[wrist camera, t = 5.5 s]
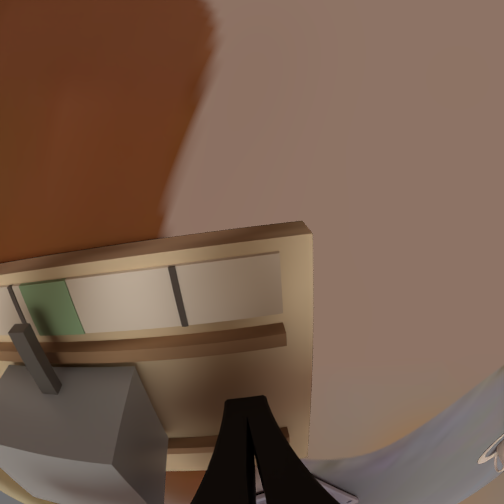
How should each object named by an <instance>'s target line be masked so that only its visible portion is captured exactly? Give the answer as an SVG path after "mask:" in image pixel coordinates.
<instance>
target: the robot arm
mask: <svg viewBox="0 0 504 504" xmlns="http://www.w3.org/2000/svg"><path fill="white" fill-rule="evenodd" d="M254 455H255V457H254ZM255 459H256V463H257V467H258V471H259V475H260V478H261V482H262V486H263V490H264V493H263V494H260V495H257V496H256V483H255ZM358 501H359V500H358V498H357V497H355V496H352V495H350V494H348V493H346V492H343V491H341V490H339V489H337V488H335V487H333V486H331V485H329V484H326V483H324V482H322V481H320V480H318V479H316V478H314V476H313V475H312V474H311V473H310V472H309V470H308V469H307V468H306V467H305V465H304V464H303V463H302V461H301V460H300V459H299V457H298V456H297V455H296V453H295V452H294V450H293V449H292V447H291V446H290V444H289V443H288V441H287V440H286V438H285V436H284V435H283V433H282V431H281V430H280V428H279V426H278V424H277V422H276V420H275V418H274V416H273V414H272V412H271V409H270V407H269V404H268V401H267V397H266V396H264V395H259V396H252V397H244V398H235V399H227V400H226V401H225V402H224V411H223V417H222V422H221V427H220V431H219V435H218V438H217V441H216V445H215V448H214V451H213V454H212V457H211V460H210V462H209V465H208V467H207V470H206V473H205V475H204V477H203V480H202V482H201V484H200V486H199V488H198V490H197V492H196V494H195V496H194V498H193V500H192V502H191V504H356V503H357V502H358Z"/></svg>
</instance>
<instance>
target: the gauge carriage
mask: <svg viewBox="0 0 504 504" xmlns="http://www.w3.org/2000/svg"><path fill="white" fill-rule="evenodd" d="M8 334H9V336H10V338H11V340H12V342H13V344H14V346H15V348H16V349H17V351H18V353H19V355H20V357H21V359H22V360H23V362H24V364H25V366H20V365H8V367H7V369H6V370H5V372H4V373H3V375H2V377H1V378H0V467H1V468H2V469H3V470H4V471H5V472H6V473H7V474H8V475H9V476H10V477H11V478H12V479H13V480H15V481H16V482H17V483H18V484H19V485H20V486H21V487H23V488H24V489H25V490H26V491H27V492H29V493H30V494H31V495H32V496H33V497H37V498H40V499H44V500H47V501H51V502H55V503H59V504H164V492H165V476H166V462H167V449H168V436H167V434H166V432H165V430H164V428H163V426H162V424H161V422H160V420H159V418H158V416H157V414H156V412H155V410H154V408H153V406H152V404H151V402H150V400H149V397H148V395H147V393H146V391H145V389H144V386H143V384H142V382H141V380H140V377H139V375H138V373H137V370H136V368H135V366H123V367H52V366H51V364H50V362H49V360H48V359H47V357H46V355H45V353H44V351H43V349H42V347H41V345H40V343H39V341H38V339H37V337H36V335H35V333H34V331H33V329H32V327H31V324H30V323H22V324H14V325H13V327H12V328H11V329H10V331H9V332H8Z"/></svg>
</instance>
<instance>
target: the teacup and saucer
mask: <svg viewBox="0 0 504 504" xmlns="http://www.w3.org/2000/svg"><path fill="white" fill-rule="evenodd" d="M503 436H504V434H503V435H502V436H500V437H499V438H498V439H497V440H496V441H495V442H494V443H493V444H492V445H491V446H490V447H489V448H488V449H487V450H486V451H485V452H484V453H483V454H482V455H481V457H480V458H479V460H478V464H481V463H484V462H486V461H488V460H489V459H491V458H492V457H494V456H495V459H494V466H495V470H496V471H497V472H501V471H503V470H504V440H503V441H502V442H500V443H499V445H498V446H497V447H496V448H497V451H496V453H494V454H492V455H491V456H489V457H485V455H486V453H487V452H488V451H489V449H490V448H491V447H492V446H493V445H494V444H495V443H496V442H497V441H498V440H499V439H501V438H502V437H503ZM497 456H499V458H500V460H501V462H502V464H503V468H502V470H498V468H497Z"/></svg>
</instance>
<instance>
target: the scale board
mask: <svg viewBox="0 0 504 504" xmlns="http://www.w3.org/2000/svg"><path fill="white" fill-rule="evenodd" d="M22 323H30V324H31V327H32V329H33V331H34V333H35V335H36V337H37V339H38V341H39V343H40V345H41V347H42V349H43V351H44V353H45V355H46V357H47V359H48V360H49V362H50V364H51V366H52V367H123V366H135V368H136V370H137V373H138V375H139V377H140V380H141V382H142V384H143V386H144V389H145V391H146V393H147V395H148V397H149V400H150V402H151V404H152V406H153V408H154V410H155V412H156V414H157V416H158V418H159V420H160V422H161V424H162V426H163V428H164V430H165V432H166V434H167V436H168V449H167V462H166V471H197V470H207V467H208V465H209V462H210V460H211V457H212V454H213V451H214V448H215V445H216V441H217V438H218V435H219V431H220V427H221V422H222V417H223V411H224V402H225V401H226V400H227V399H235V398H244V397H252V396H259V395H264V396H266V397H267V401H268V404H269V407H270V409H271V412H272V414H273V416H274V418H275V420H276V422H277V424H278V426H279V428H280V430H281V431H282V433H283V435H284V436H285V438H286V440H287V441H288V443H289V444H290V446H291V447H292V449H293V450H294V452H295V453H296V455H297V456H298V457H299V459H301V458H306V457H307V455H308V441H309V426H310V409H311V387H312V359H313V233H312V232H311V231H310V230H309V229H308V227H307V226H306V225H305V224H304V222H303V221H296V222H287V223H279V224H270V225H261V226H253V227H245V228H237V229H229V230H221V231H214V232H205V233H199V234H190V235H183V236H175V237H168V238H161V239H154V240H147V241H140V242H133V243H126V244H119V245H112V246H106V247H99V248H92V249H86V250H79V251H73V252H67V253H60V254H54V255H48V256H42V257H36V258H30V259H24V260H18V261H12V262H7V263H1V264H0V378H1V377H2V375H3V373H4V372H5V370H6V369H7V367H8V365H20V366H25V364H24V362H23V360H22V359H21V357H20V355H19V353H18V351H17V349H16V348H15V346H14V344H13V342H12V340H11V338H10V336H9V334H8V332H9V331H10V329H11V328H12V327H13V325H14V324H22ZM254 457H255V455H254ZM255 466H257V463H256V459H255Z"/></svg>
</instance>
